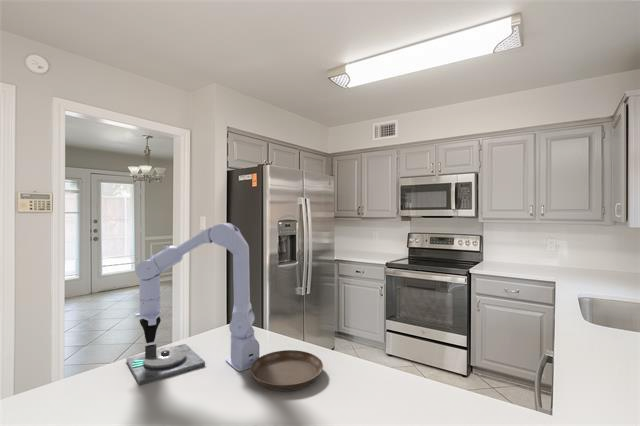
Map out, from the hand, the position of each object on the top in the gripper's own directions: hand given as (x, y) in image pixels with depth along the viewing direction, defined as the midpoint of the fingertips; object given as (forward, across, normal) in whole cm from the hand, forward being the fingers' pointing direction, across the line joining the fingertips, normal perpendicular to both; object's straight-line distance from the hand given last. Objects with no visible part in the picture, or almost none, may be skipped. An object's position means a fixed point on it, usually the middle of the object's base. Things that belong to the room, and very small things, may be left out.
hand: (150, 341), depth 103 cm
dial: (+5, +3, +4) cm, 7 cm away
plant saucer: (+7, +29, +33) cm, 44 cm away
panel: (+7, +3, +4) cm, 8 cm away
